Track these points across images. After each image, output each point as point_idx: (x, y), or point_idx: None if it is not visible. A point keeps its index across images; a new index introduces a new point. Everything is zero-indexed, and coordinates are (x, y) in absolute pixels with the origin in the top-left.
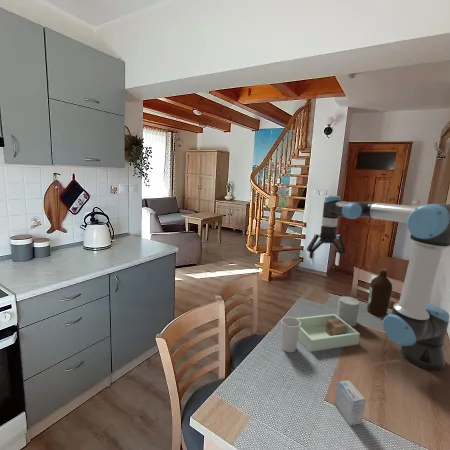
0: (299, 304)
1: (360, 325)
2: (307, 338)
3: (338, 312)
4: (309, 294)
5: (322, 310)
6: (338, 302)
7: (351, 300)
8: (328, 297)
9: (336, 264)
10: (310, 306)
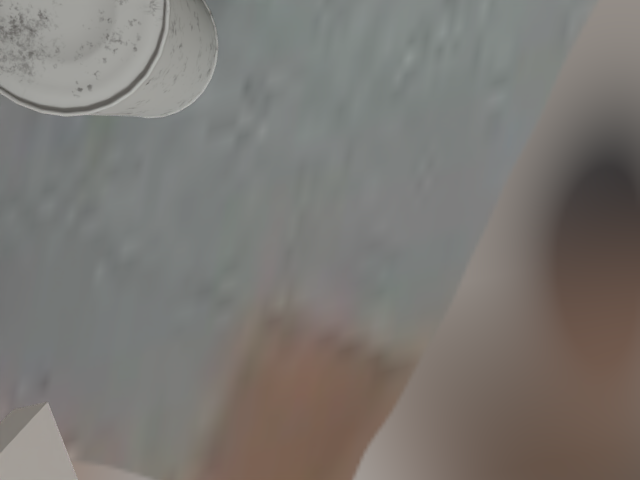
0: (461, 251)
1: None
2: None
3: (195, 5)
4: (356, 442)
5: (295, 199)
6: (179, 37)
7: (30, 17)
8: (214, 431)
9: (54, 451)
10: (379, 240)
